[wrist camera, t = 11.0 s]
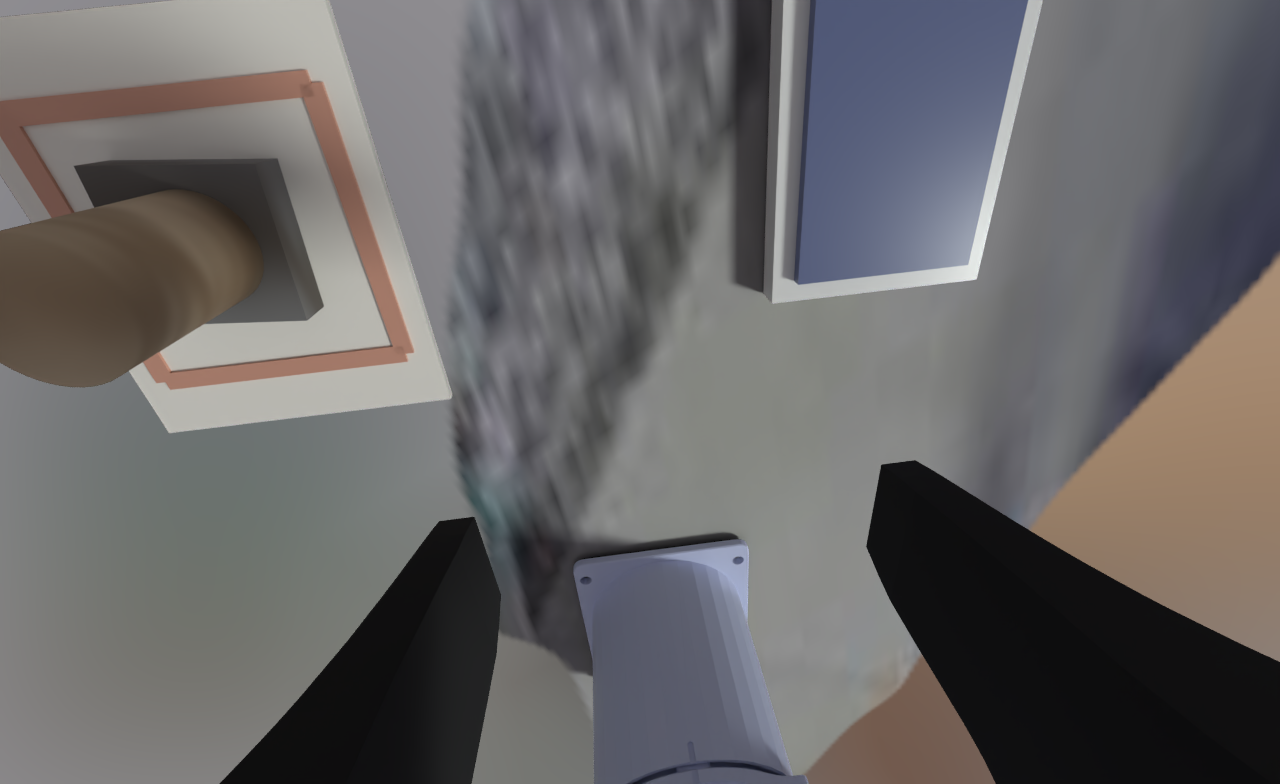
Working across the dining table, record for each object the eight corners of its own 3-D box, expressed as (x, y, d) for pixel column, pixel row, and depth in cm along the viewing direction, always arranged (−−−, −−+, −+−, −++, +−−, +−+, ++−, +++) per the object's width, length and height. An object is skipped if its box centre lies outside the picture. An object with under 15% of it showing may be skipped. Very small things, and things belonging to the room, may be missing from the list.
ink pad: (958, 270, 19) (984, 283, 18) (763, 293, 19) (775, 308, 17) (1029, -57, 14) (1071, -70, 13) (772, -32, 14) (790, -43, 13)
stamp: (324, 306, 17) (204, 406, 12) (179, 310, 17) (-11, 416, 11) (277, 158, 15) (104, 198, 10) (110, 160, 15) (-167, 203, 9)
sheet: (452, 394, 19) (450, 400, 19) (174, 428, 19) (167, 434, 19) (325, -13, 13) (318, -15, 13) (-84, 27, 13) (-102, 26, 13)
